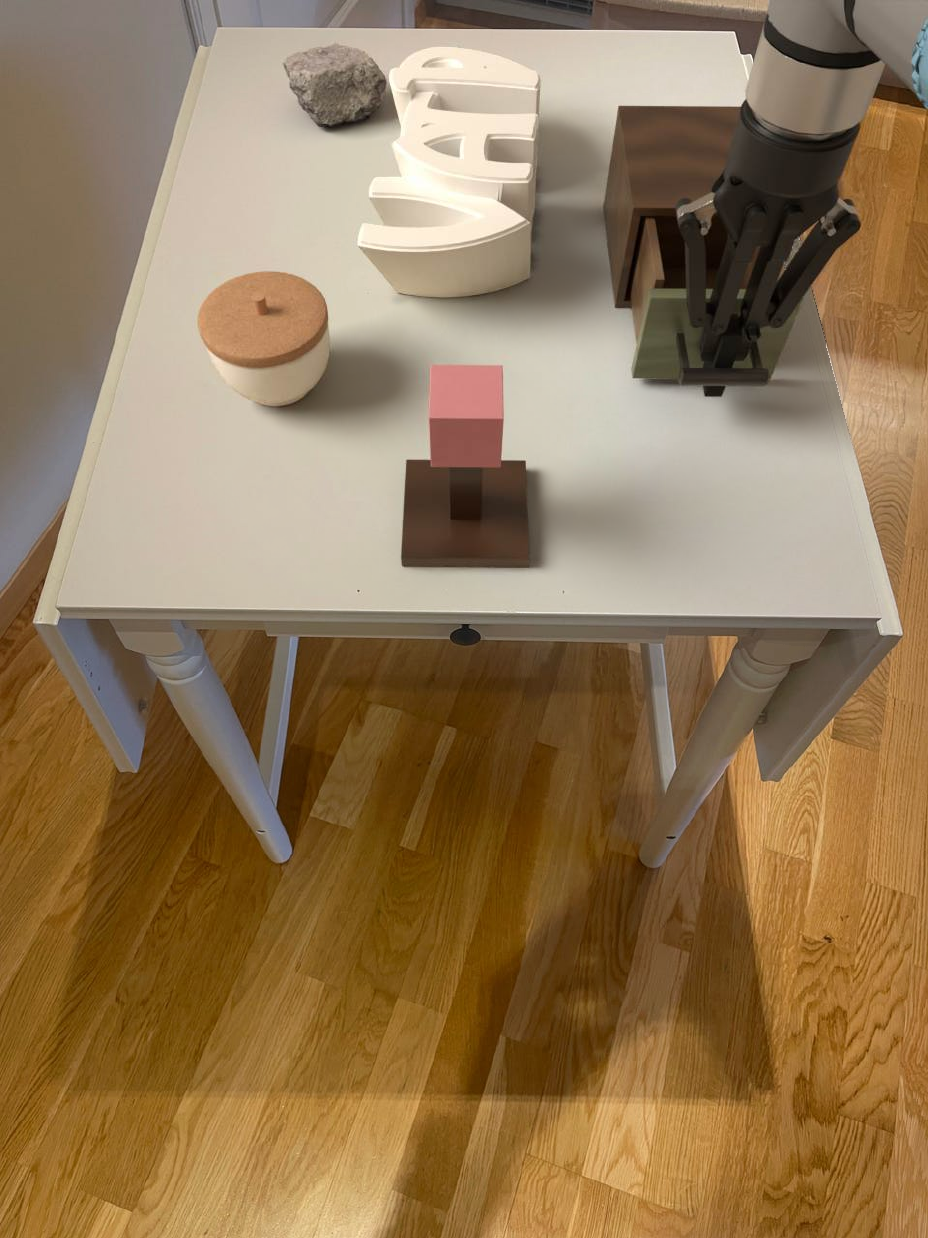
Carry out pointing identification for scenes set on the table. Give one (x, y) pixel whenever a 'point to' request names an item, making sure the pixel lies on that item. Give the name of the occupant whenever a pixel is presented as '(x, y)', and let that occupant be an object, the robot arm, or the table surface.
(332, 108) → the rock
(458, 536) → the stand
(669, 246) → the drawer
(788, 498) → the table surface
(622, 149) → the cabinet
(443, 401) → the block
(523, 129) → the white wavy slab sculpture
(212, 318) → the trinket box
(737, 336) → the robot arm
